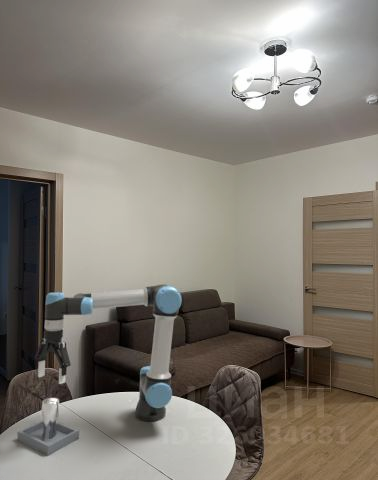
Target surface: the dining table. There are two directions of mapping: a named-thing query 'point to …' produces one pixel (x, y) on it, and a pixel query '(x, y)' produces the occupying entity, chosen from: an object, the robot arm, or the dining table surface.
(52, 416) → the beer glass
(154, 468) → the dining table surface
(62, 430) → the tray
